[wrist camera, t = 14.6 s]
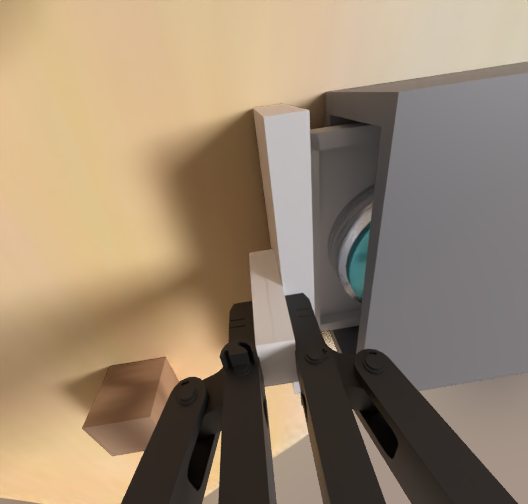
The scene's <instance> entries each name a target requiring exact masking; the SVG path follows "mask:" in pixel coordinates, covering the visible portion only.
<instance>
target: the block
mask: <svg viewBox="0 0 528 504" xmlns="http://www.w3.org/2000/svg"><path fill="white" fill-rule="evenodd" d="M178 383H179V381H178V379H177V377H176V375H175V374H174V372H173V370H172V368H171V366H170V364H169V362H168V361H167V359H166V357H164V358H158V359H152V360H145V361H139V362H133V363H127V364H121V365H115V366H110V368H109V370H108V372H107V374H106V377H105V379H104V381H103V383H102V385H101V388H100V390H99V392H98V394H97V396H96V399H95V401H94V403H93V405H92V407H91V410H90V412H89V414H88V416H87V418H86V420H85V423H84V425H83V427H82V429H83V430H84V431H85V432H87V433H88V434H89V435H90V436H91V437H92V438H93V439H94V440H95V441H96V442H97V443H98V444H100V445H101V446H102V447H103V448H104V449H105V450H106V451H107V452H108V453H109V454H110V455H111V456H117V455H122V454H128V453H134V452H140V451H145V449H146V447H147V445H148V442H149V440H150V438H151V436H152V433H153V431H154V429H155V427H156V425H157V422H158V420H159V418H160V416H161V413H162V411H163V409H164V407H165V404H166V402H167V400H168V398H169V396H170V393H171V392H172V390H173V388H174V387H175V386H176V385H177V384H178Z"/></svg>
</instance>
